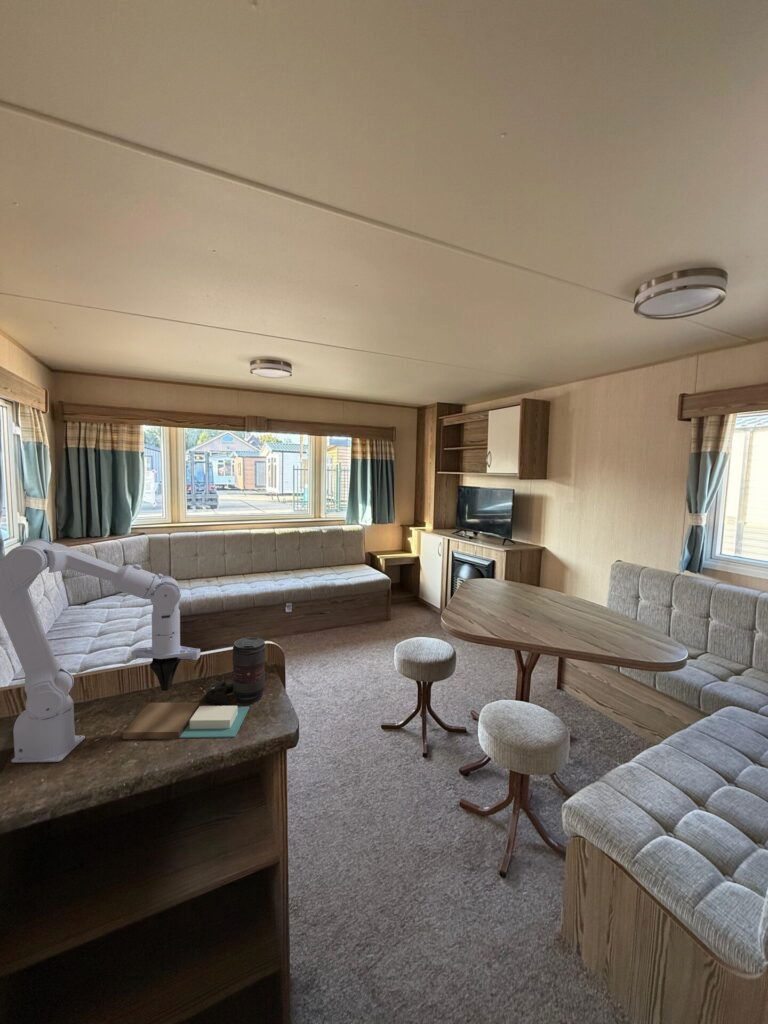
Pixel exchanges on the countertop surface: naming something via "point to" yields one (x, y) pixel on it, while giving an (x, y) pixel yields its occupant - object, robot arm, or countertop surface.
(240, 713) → the teal mat
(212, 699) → the game controller
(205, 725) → the cream tile
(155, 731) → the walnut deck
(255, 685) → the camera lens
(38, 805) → the countertop surface
